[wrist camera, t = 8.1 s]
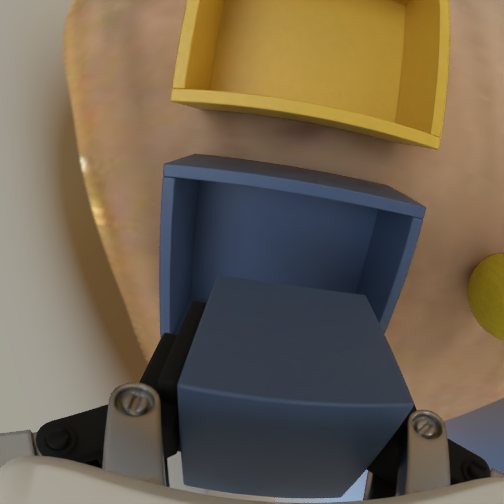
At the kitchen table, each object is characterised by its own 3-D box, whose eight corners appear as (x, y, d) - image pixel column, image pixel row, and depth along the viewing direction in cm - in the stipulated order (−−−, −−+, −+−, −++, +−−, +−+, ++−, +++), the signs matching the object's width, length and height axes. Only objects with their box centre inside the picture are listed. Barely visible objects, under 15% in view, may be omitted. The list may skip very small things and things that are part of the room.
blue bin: (194, 153, 18) (163, 163, 13) (388, 185, 18) (427, 207, 13) (184, 299, 22) (160, 346, 17) (350, 322, 22) (366, 374, 17)
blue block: (217, 273, 10) (176, 384, 5) (366, 294, 10) (416, 404, 5) (208, 381, 12) (182, 485, 7) (327, 395, 12) (341, 498, 7)
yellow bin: (223, -31, 13) (206, -75, 8) (410, 4, 13) (447, -26, 8) (199, 109, 17) (169, 101, 12) (396, 142, 17) (439, 150, 12)
